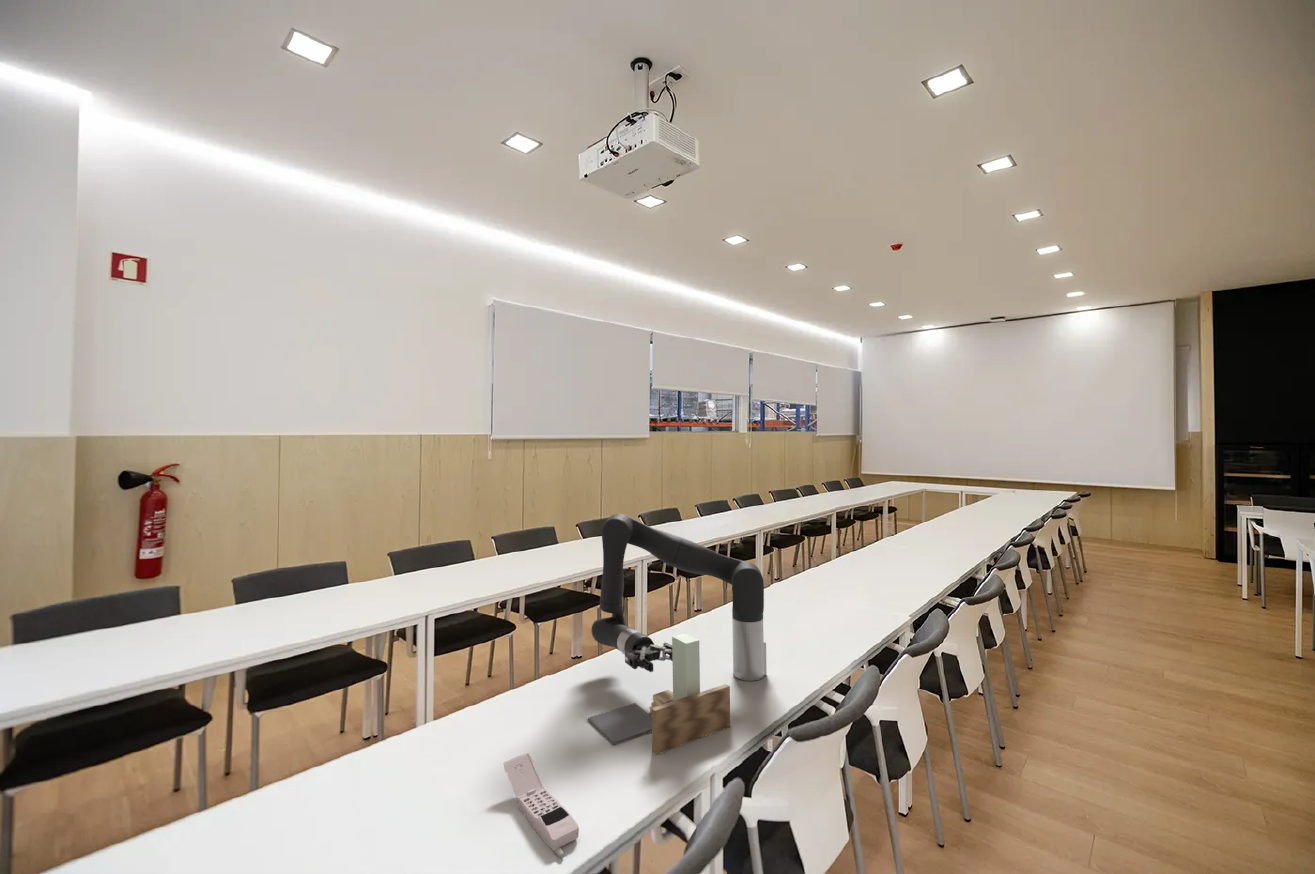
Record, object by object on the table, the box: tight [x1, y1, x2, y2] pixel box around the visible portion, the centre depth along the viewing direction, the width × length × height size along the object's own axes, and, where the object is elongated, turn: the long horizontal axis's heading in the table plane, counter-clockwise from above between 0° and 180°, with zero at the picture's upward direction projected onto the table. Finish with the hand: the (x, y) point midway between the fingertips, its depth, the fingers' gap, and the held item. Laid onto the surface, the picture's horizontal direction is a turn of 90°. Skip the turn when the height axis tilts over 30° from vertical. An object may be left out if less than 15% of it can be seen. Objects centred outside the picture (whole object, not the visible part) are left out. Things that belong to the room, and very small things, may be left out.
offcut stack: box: [649, 689, 673, 714], centre depth 145 cm, size 7×7×4 cm
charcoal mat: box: [587, 702, 652, 746], centre depth 140 cm, size 14×14×1 cm
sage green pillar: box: [671, 633, 701, 701], centre depth 138 cm, size 4×6×22 cm, turn 33°
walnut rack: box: [651, 683, 731, 756], centre depth 135 cm, size 22×8×10 cm, turn 123°
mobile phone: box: [502, 753, 580, 859], centre depth 106 cm, size 6×6×25 cm
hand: (666, 664), depth 145 cm, fingers open, 8 cm apart
